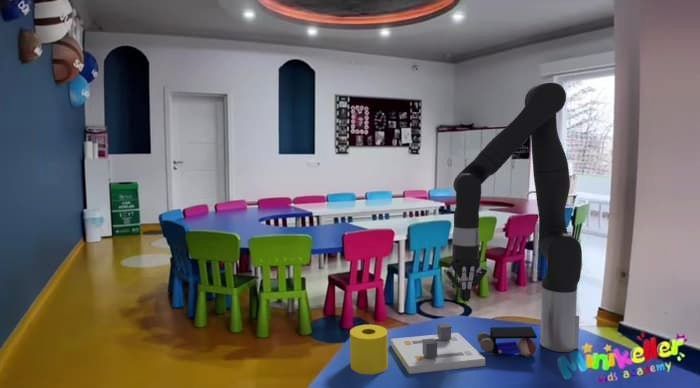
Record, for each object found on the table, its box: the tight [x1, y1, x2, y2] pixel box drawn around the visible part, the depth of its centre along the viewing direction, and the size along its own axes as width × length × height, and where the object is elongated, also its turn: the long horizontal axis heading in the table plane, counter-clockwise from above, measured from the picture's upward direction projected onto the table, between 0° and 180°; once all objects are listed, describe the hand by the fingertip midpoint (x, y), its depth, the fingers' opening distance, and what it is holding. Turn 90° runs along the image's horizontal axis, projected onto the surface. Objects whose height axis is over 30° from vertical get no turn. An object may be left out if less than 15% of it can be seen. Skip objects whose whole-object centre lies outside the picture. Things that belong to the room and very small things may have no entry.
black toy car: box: [477, 326, 538, 357], centre depth 132 cm, size 7×8×15 cm
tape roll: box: [349, 324, 389, 375], centre depth 127 cm, size 10×10×9 cm
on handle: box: [422, 339, 438, 358], centre depth 127 cm, size 3×3×4 cm
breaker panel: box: [390, 332, 486, 375], centre depth 133 cm, size 21×18×2 cm
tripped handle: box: [436, 322, 452, 340], centre depth 138 cm, size 3×3×4 cm
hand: (464, 300), depth 139 cm, fingers closed
